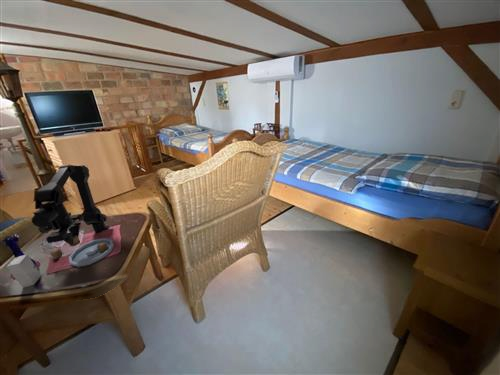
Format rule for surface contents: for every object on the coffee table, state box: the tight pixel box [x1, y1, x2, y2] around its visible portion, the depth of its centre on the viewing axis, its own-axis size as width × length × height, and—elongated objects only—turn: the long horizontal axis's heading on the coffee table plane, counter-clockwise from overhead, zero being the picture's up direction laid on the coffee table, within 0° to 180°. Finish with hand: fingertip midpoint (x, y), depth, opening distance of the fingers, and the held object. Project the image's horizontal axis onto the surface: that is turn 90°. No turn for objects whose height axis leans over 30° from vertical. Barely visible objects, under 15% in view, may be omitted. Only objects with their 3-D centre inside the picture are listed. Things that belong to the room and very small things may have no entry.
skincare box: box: [6, 254, 42, 288], centre depth 88 cm, size 6×4×12 cm
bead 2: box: [68, 235, 81, 247], centre depth 99 cm, size 4×4×4 cm
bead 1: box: [49, 248, 64, 260], centre depth 104 cm, size 4×4×4 cm
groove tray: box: [68, 237, 115, 268], centre depth 104 cm, size 18×18×3 cm
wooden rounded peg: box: [97, 242, 108, 253], centre depth 104 cm, size 4×4×4 cm
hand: (74, 241), depth 99 cm, fingers closed on bead 2, 4 cm apart
